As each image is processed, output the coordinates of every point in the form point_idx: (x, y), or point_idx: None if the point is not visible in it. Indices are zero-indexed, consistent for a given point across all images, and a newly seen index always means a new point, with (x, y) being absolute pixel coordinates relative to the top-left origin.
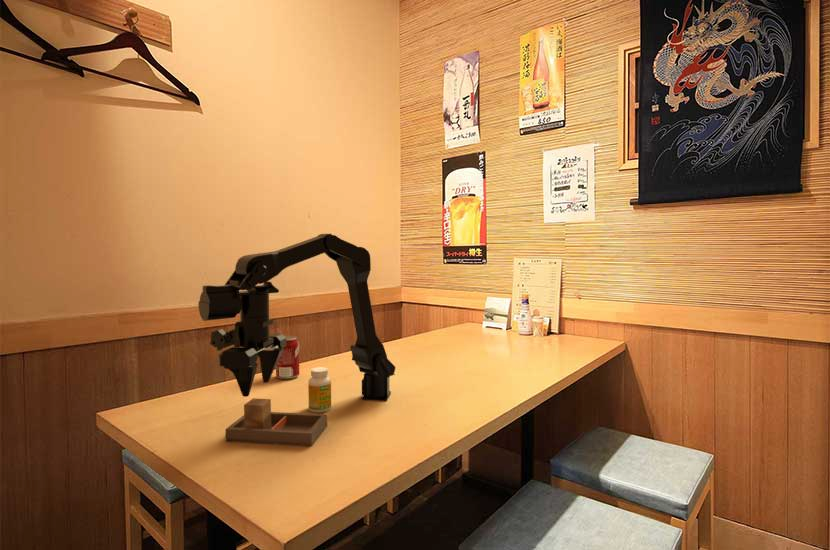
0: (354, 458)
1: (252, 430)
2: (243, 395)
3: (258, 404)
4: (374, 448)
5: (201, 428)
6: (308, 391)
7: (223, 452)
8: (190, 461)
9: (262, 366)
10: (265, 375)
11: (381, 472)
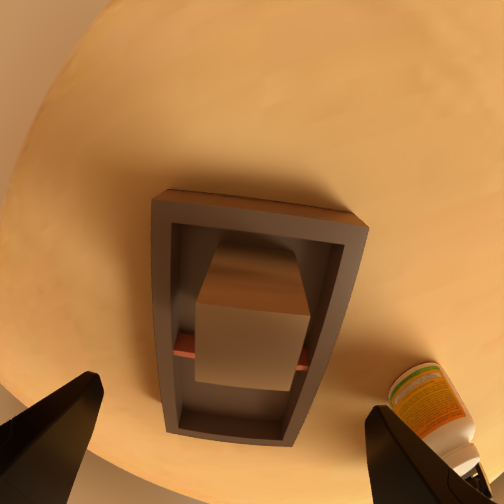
0: (145, 449)
1: (153, 306)
2: (86, 376)
3: (207, 365)
4: (186, 467)
5: (295, 40)
6: (441, 401)
7: (98, 217)
8: (48, 149)
9: (415, 488)
10: (380, 450)
11: (119, 460)
